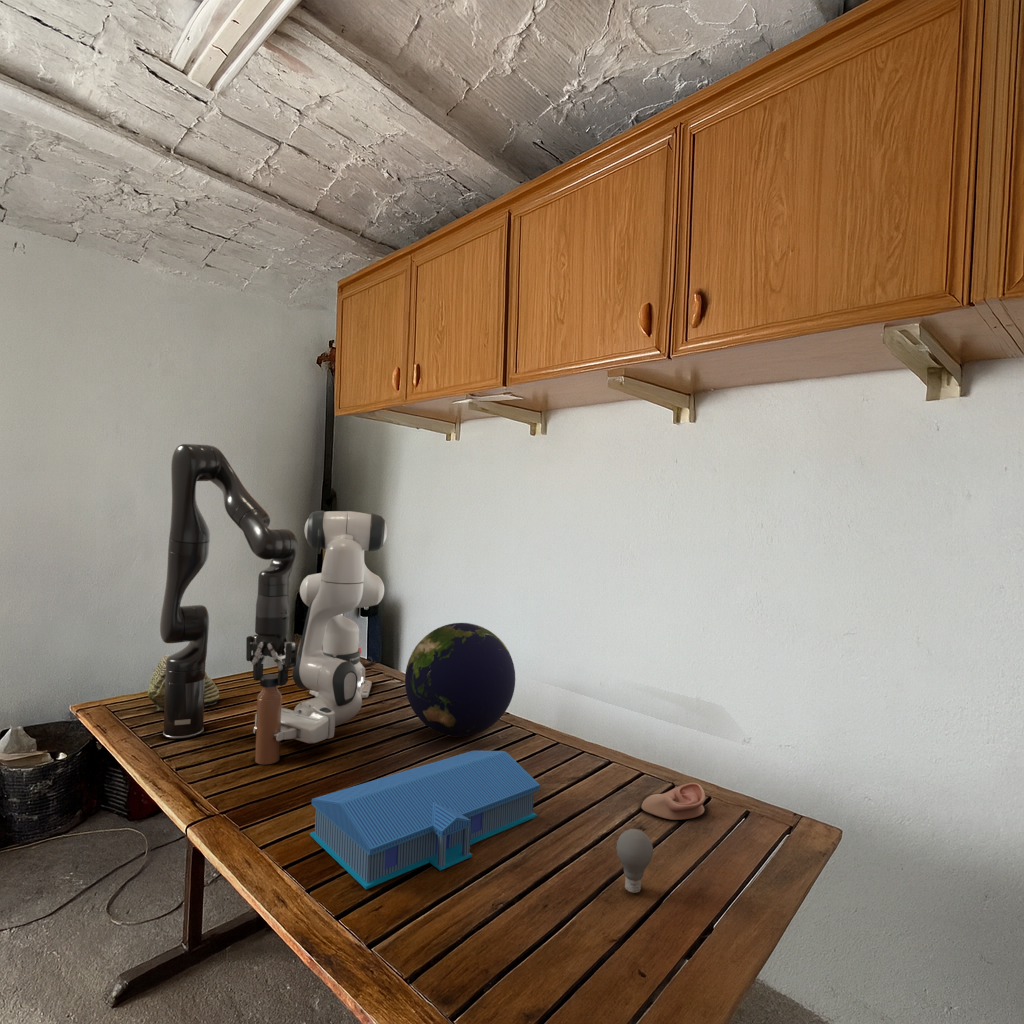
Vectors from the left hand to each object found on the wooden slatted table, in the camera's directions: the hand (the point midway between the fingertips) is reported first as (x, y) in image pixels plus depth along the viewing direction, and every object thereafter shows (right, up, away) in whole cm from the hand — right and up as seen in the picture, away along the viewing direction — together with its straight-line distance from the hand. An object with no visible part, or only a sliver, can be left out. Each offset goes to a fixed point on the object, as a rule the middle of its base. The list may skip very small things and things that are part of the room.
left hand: (270, 682), depth 151 cm
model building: (+42, -21, -28) cm, 55 cm away
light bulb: (+78, -23, -45) cm, 93 cm away
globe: (+43, -20, +22) cm, 52 cm away
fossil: (-39, -16, +34) cm, 54 cm away
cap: (0, +1, 0) cm, 1 cm away
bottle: (-1, -19, 0) cm, 19 cm away
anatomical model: (+92, -23, -15) cm, 96 cm away
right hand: (-1, -12, -1) cm, 12 cm away
